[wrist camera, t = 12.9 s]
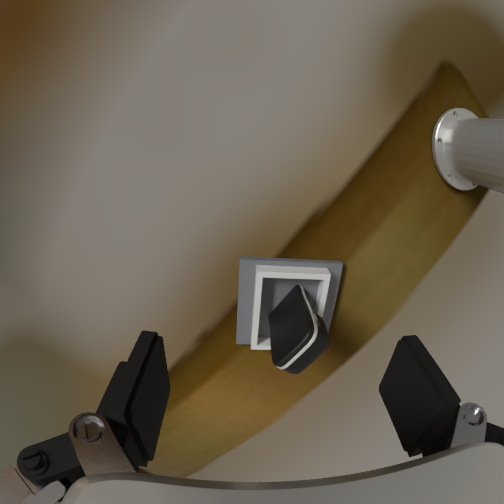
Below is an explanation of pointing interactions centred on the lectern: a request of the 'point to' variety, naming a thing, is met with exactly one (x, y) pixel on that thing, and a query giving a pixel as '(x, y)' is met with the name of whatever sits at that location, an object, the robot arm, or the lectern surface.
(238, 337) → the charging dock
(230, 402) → the lectern surface
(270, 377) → the lectern surface
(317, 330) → the battery charger
